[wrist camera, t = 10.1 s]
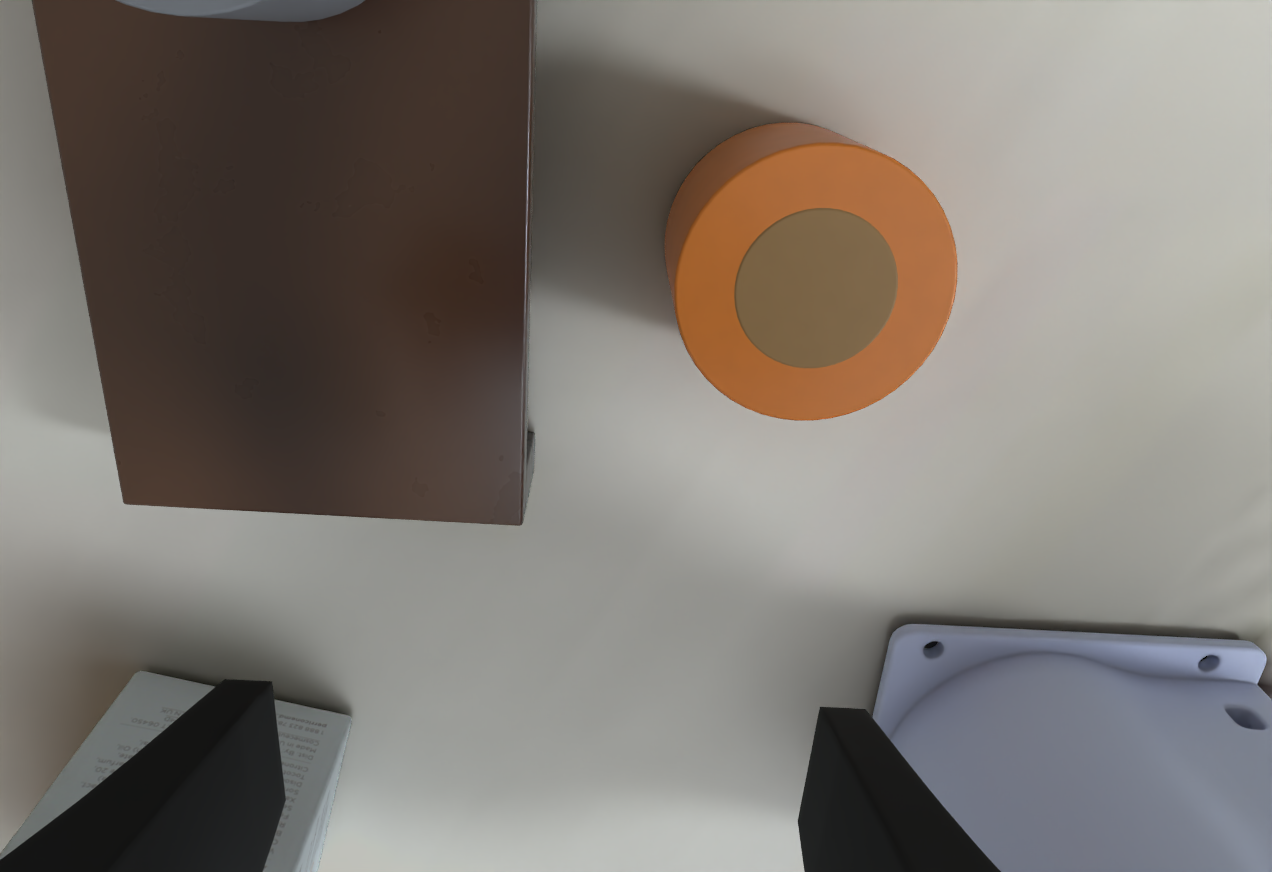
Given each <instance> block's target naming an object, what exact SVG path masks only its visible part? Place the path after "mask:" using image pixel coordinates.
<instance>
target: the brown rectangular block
mask: <svg viewBox="0 0 1272 872" xmlns="http://www.w3.org/2000/svg"><path fill="white" fill-rule="evenodd" d="M32 4H33V10H34V15H35V21H36V26H37V32H38V37H39V42H40V48H41V53H42V59H43V64H44V70H45V75H46V81H47V86H48V92H49V97H50V103H51V108H52V114H53V119H54V125H55V130H56V136H57V141H58V147H59V152H60V158H61V163H62V169H63V174H64V179H65V185H66V190H67V196H68V201H69V207H70V212H71V218H72V223H73V229H74V234H75V240H76V245H77V251H78V256H79V262H80V267H81V273H82V278H83V284H84V289H85V295H86V300H87V306H88V311H89V316H90V322H91V327H92V333H93V338H94V344H95V349H96V355H97V360H98V366H99V371H100V377H101V382H102V388H103V393H104V399H105V404H106V410H107V415H108V421H109V426H110V432H111V437H112V443H113V448H114V453H115V459H116V464H117V470H118V475H119V481H120V486H121V492H122V497H123V502H124V504H129V505H147V506H166V507H184V508H203V509H221V510H240V511H258V512H277V513H295V514H314V515H332V516H351V517H369V518H388V519H406V520H425V521H443V522H462V523H480V524H499V525H517V526H520V525H522V523H523V520H524V515H525V510H526V507H527V502H528V497H529V492H530V487H531V482H532V477H533V473H534V451H535V433H534V432H527V415H528V372H529V328H530V284H531V240H532V197H533V153H534V109H535V66H536V22H537V0H365V1H363V2H362V3H361V4H359V5H358V6H355V7H353V8H351V9H349V10H347V11H345V12H343V13H341V14H338V15H334V16H331V17H328V18H324V19H320V20H313V21H305V22H279V21H260V20H241V19H222V18H203V17H184V16H174V15H167V14H161V13H154V12H150V11H146V10H143V9H139V8H136V7H132V6H129V5H126V4H123V3H121V2H118V1H116V0H32Z"/></svg>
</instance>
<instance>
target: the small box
mask: <svg viewBox="0 0 1272 872" xmlns="http://www.w3.org/2000/svg"><path fill="white" fill-rule="evenodd" d="M214 688H215V686H211V685H206V684H201V683H197V682H192V681H187V680H183V679H178V678H173V677H169V676H164V675H159V674H155V673H150V672H145V671H138V672H136V673H135V674H134V675H133V677H132V678H131V679H130V681H129V682H128V684H127V685H126V686H125V688H124V689H123V690H122V692H121V693H120V694H119V696H118V697H117V698H116V700H115V701H114V702H113V703H112V705H111V706H110V707H109V709H108V710H107V711H106V713H105V714H104V715H103V717H102V718H101V719H100V721H99V722H98V723H97V725H96V726H95V727H94V729H93V730H92V731H91V733H90V734H89V735H88V737H87V738H86V740H85V741H84V742H83V744H82V745H81V746H80V748H79V749H78V750H77V752H76V753H75V754H74V755H73V757H72V758H71V759H70V761H69V762H68V763H67V765H66V766H65V767H64V769H63V770H62V771H61V773H60V774H59V775H58V777H57V778H56V780H55V781H54V782H53V784H52V785H51V786H50V788H49V789H48V790H47V792H46V793H45V795H44V796H43V797H42V799H41V800H40V801H39V803H38V804H37V805H36V807H35V808H34V809H33V811H32V812H31V813H30V815H29V816H28V817H27V819H26V820H25V822H24V823H23V824H22V826H21V827H20V828H19V830H18V831H17V832H16V833H15V835H14V836H13V837H12V839H11V840H10V841H9V843H8V844H7V845H6V847H5V848H4V849H3V851H2V852H1V853H0V859H2V858H3V857H5V856H6V855H7V854H9V853H10V852H11V851H13V850H14V849H15V848H17V847H18V846H19V845H21V844H22V843H23V842H25V841H26V840H27V839H29V838H30V837H31V836H33V835H34V834H35V833H37V832H38V831H39V830H40V829H42V828H43V827H44V826H46V825H47V824H48V823H50V822H51V821H52V820H54V819H55V818H56V817H58V816H59V815H60V814H62V813H63V812H64V811H66V810H67V809H68V808H70V807H71V806H72V805H73V804H75V803H76V802H77V801H79V800H80V799H81V798H82V797H84V796H85V795H86V794H87V793H89V792H90V791H91V790H92V789H94V788H95V787H96V786H97V785H98V784H100V783H101V782H102V781H103V780H105V779H106V778H107V777H108V776H109V775H111V774H112V773H113V772H114V771H116V770H117V769H118V768H119V767H121V766H122V765H123V764H124V763H125V762H127V761H128V760H129V759H130V758H132V757H133V756H134V755H135V754H136V753H138V752H139V751H140V750H141V749H142V748H143V747H145V746H146V745H147V744H148V743H149V742H151V741H152V740H153V739H154V738H155V737H157V736H158V735H159V734H160V733H161V732H162V731H164V730H165V729H166V728H167V727H168V726H169V725H171V724H172V723H173V722H174V721H175V720H177V719H178V718H179V717H180V716H181V715H182V714H184V713H185V712H186V711H187V710H188V709H190V708H191V707H192V706H193V705H194V704H195V703H197V702H198V701H199V700H200V699H201V698H203V697H204V696H205V695H206V694H208V693H209V692H210V691H211V690H212V689H214ZM274 702H275V711H276V719H277V728H278V736H279V745H280V753H281V762H282V771H283V779H284V788H285V796H286V801H285V805H284V808H283V811H282V814H281V817H280V821H279V824H278V827H277V830H276V833H275V836H274V840H273V843H272V846H271V849H270V852H269V855H268V857H267V860H266V863H265V866H264V869H263V872H318V867H319V863H320V858H321V854H322V849H323V845H324V840H325V836H326V831H327V827H328V822H329V818H330V814H331V809H332V805H333V800H334V796H335V791H336V787H337V782H338V777H339V773H340V769H341V764H342V760H343V756H344V752H345V747H346V743H347V739H348V735H349V731H350V727H351V724H352V720H351V717H350V716H348V715H345V714H340V713H335V712H331V711H326V710H321V709H316V708H312V707H307V706H303V705H298V704H294V703H289V702H284V701H280V700H275V699H274Z"/></svg>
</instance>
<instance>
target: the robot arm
mask: <svg viewBox="0 0 1272 872" xmlns="http://www.w3.org/2000/svg"><path fill="white" fill-rule="evenodd" d="M932 641H938V643H937V645H936V646H934V647H932V648H928V649H926V648H924V647H925V645H926V644H928V643H929V642H932ZM1207 655H1209V656H1208V657H1207V658H1206V659H1204V660H1203V661H1200V660H1201V659H1202V658H1203V657H1205V656H1207ZM1266 660H1267V658H1266V655H1265V653H1264V652H1263V651H1262V650H1261V649H1260V648H1259V647H1258V646H1257V645H1255V644H1254V643H1253V642H1250V641H1246V640H1227V639H1207V638H1187V637H1167V636H1147V635H1128V634H1108V633H1088V632H1068V631H1048V630H1029V629H1009V628H989V627H969V626H949V625H930V624H906V625H904V626H901V627H899V628H898V629H897V630H895V631H894V632H893V634H892V636H891V638H890V641H889V645H888V650H887V654H886V659H885V663H884V668H883V672H882V676H881V681H880V685H879V690H878V694H877V699H876V703H875V708H874V712H873V717H871V715H870V714H869V713H868V712H867V711H866V709H852V708H831V707H820V709H819V714H818V720H817V725H816V730H815V735H814V740H813V745H812V751H811V756H810V761H809V766H808V771H807V776H806V782H805V787H804V792H803V797H802V802H801V807H800V813H799V818H798V826H799V833H800V841H801V848H802V856H803V864H804V870H805V872H1272V700H1271V699H1270V698H1269V696H1268V695H1267V694H1266V693H1265V692H1264V691H1263V690H1262V689H1261V688H1260V687H1259V686H1258V685H1257V683H1258V681H1259V679H1260V676H1261V674H1262V672H1263V670H1264V667H1265V665H1266ZM285 801H286V796H285V788H284V779H283V771H282V762H281V753H280V745H279V736H278V728H277V719H276V711H275V702H274V694H273V685H272V682H270V681H249V680H227V679H225V680H223V681H222V682H221V683H220V684H218V685H217V686H216V687H215V688H214V689H212V690H211V691H210V692H209V693H208V694H206V695H205V696H204V697H203V698H201V699H200V700H199V701H198V702H197V703H195V704H194V705H193V706H192V707H191V708H190V709H188V710H187V711H186V712H185V713H184V714H182V715H181V716H180V717H179V718H178V719H177V720H175V721H174V722H173V723H172V724H171V725H169V726H168V727H167V728H166V729H165V730H164V731H162V732H161V733H160V734H159V735H158V736H157V737H155V738H154V739H153V740H152V741H151V742H149V743H148V744H147V745H146V746H145V747H143V748H142V749H141V750H140V751H139V752H138V753H136V754H135V755H134V756H133V757H132V758H130V759H129V760H128V761H127V762H125V763H124V764H123V765H122V766H121V767H119V768H118V769H117V770H116V771H114V772H113V773H112V774H111V775H109V776H108V777H107V778H106V779H105V780H103V781H102V782H101V783H100V784H98V785H97V786H96V787H95V788H94V789H92V790H91V791H90V792H89V793H87V794H86V795H85V796H84V797H82V798H81V799H80V800H79V801H77V802H76V803H75V804H73V805H72V806H71V807H70V808H68V809H67V810H66V811H64V812H63V813H62V814H60V815H59V816H58V817H56V818H55V819H54V820H52V821H51V822H50V823H48V824H47V825H46V826H44V827H43V828H42V829H40V830H39V831H38V832H37V833H35V834H34V835H33V836H31V837H30V838H29V839H27V840H26V841H25V842H23V843H22V844H21V845H19V846H18V847H17V848H15V849H14V850H13V851H11V852H10V853H9V854H7V855H6V856H5V857H3V858H2V859H0V872H263V869H264V866H265V863H266V860H267V857H268V855H269V852H270V849H271V846H272V843H273V840H274V836H275V833H276V830H277V827H278V824H279V821H280V817H281V814H282V811H283V808H284V805H285Z"/></svg>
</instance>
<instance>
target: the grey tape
mask: <svg viewBox="0 0 1272 872" xmlns="http://www.w3.org/2000/svg"><path fill="white" fill-rule="evenodd" d="M116 1H118V2H121V3H123V4H126V5H129V6H132V7H136V8H139V9H143V10H146V11H150V12H154V13H161V14H167V15H174V16H184V17H203V18H222V19H241V20H260V21H279V22H305V21H313V20H320V19H324V18H328V17H331V16H334V15H338V14H341V13H343V12H345V11H347V10H349V9H351V8H353V7H355V6H358V5H359V4H361V3H362V2H363V1H365V0H116Z"/></svg>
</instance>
